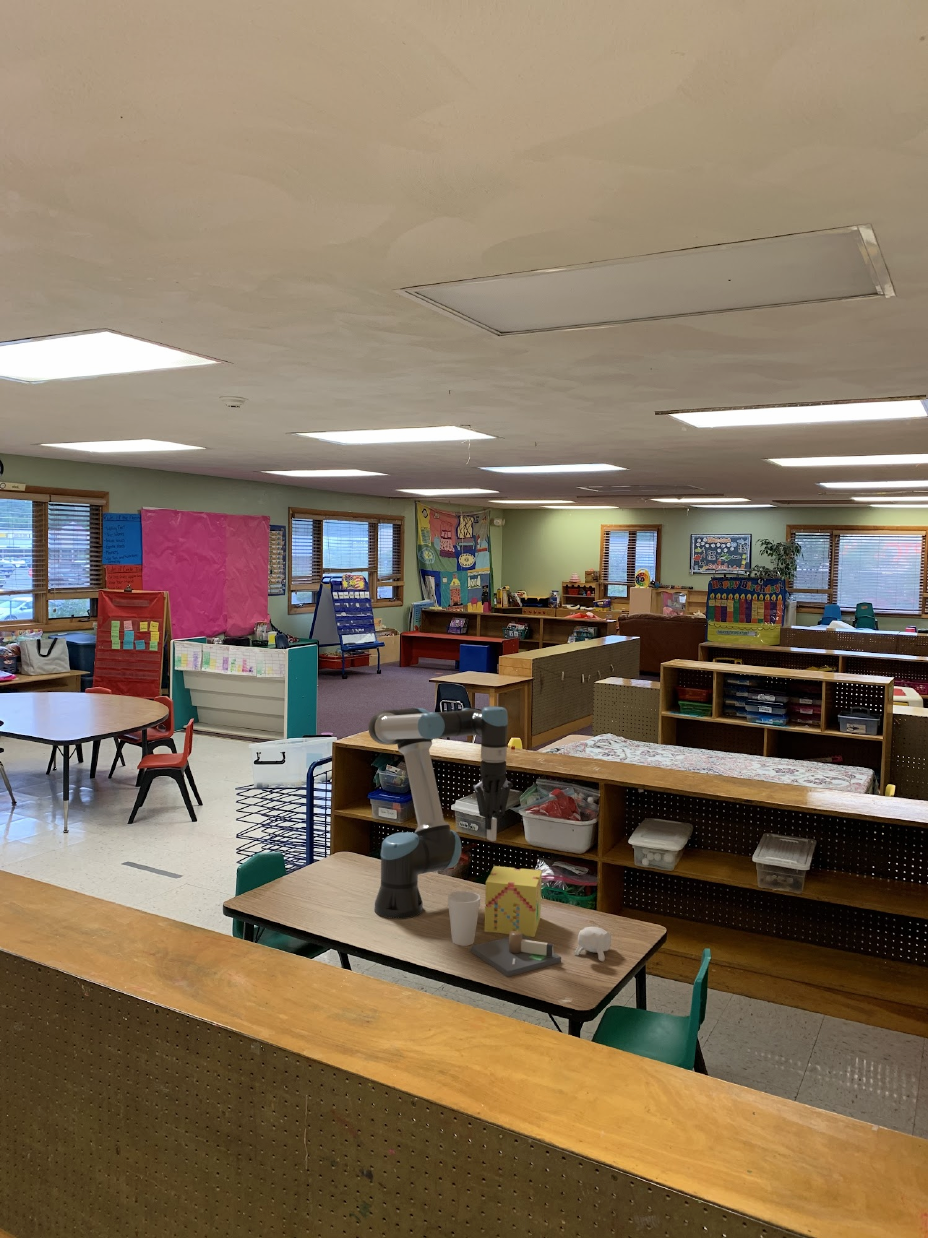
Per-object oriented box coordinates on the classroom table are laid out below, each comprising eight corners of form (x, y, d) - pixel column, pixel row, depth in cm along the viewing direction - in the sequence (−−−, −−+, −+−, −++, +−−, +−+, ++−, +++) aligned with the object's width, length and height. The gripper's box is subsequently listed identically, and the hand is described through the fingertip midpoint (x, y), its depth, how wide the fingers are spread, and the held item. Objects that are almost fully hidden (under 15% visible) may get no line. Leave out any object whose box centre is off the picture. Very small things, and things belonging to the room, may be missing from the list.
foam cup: (459, 950, 242) (460, 905, 241) (440, 939, 249) (441, 895, 249) (485, 943, 248) (487, 898, 247) (466, 932, 255) (468, 889, 255)
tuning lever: (507, 952, 238) (508, 935, 237) (510, 947, 241) (511, 930, 241) (551, 959, 234) (551, 941, 234) (553, 953, 237) (554, 936, 237)
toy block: (534, 937, 253) (536, 886, 252) (484, 931, 256) (485, 882, 255) (540, 918, 268) (541, 870, 267) (492, 913, 271) (494, 866, 270)
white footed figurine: (583, 955, 248) (566, 954, 236) (587, 925, 251) (571, 922, 238) (612, 962, 244) (596, 961, 232) (616, 931, 247) (601, 928, 234)
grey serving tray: (470, 951, 242) (470, 945, 241) (522, 938, 251) (522, 933, 251) (507, 977, 226) (508, 970, 226) (561, 962, 236) (561, 956, 236)
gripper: (482, 764, 245) (480, 846, 246) (519, 760, 252) (516, 840, 253) (467, 759, 251) (465, 839, 252) (504, 755, 258) (502, 833, 259)
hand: (491, 839), depth 252 cm, fingers closed
